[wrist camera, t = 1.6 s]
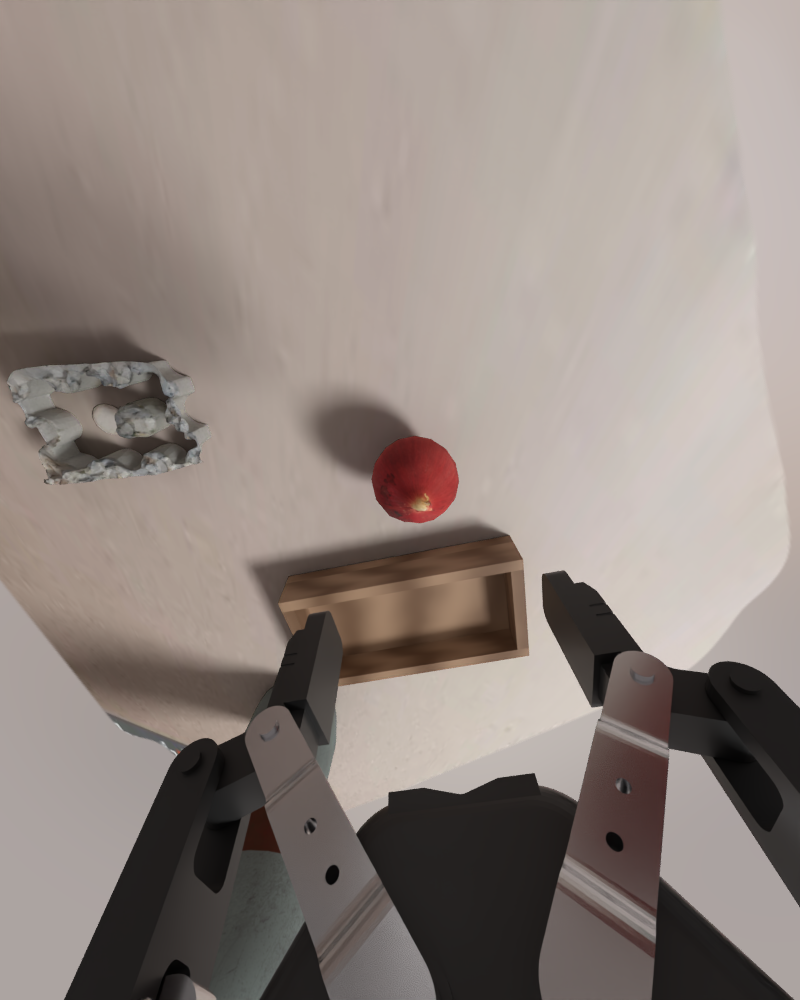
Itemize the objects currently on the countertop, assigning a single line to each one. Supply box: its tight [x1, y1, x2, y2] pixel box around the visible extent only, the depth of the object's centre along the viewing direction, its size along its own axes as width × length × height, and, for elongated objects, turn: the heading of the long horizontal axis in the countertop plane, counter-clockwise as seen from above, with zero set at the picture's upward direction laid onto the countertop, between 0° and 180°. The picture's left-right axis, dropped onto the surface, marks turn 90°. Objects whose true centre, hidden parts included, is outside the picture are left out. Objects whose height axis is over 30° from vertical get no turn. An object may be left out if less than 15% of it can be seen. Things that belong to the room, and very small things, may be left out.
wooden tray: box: [278, 535, 529, 686], centre depth 33 cm, size 20×11×4 cm, turn 102°
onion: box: [372, 436, 459, 523], centre depth 24 cm, size 6×6×8 cm
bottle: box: [209, 687, 336, 1000], centre depth 27 cm, size 9×9×30 cm
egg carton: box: [7, 360, 212, 485], centre depth 24 cm, size 11×8×4 cm
